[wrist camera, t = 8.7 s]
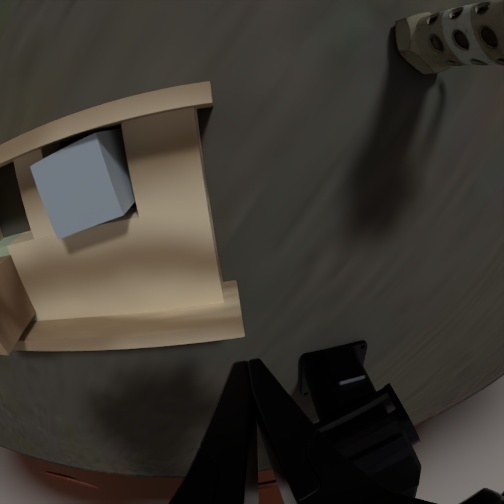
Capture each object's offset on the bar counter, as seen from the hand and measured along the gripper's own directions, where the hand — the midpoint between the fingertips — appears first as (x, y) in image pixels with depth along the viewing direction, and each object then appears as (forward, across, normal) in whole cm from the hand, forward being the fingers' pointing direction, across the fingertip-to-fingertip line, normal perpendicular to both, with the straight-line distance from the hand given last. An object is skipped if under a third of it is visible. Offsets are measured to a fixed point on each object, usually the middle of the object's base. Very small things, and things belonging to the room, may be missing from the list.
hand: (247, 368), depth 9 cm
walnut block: (+10, +18, +1) cm, 21 cm away
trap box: (+12, +11, -2) cm, 16 cm away
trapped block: (+12, +8, -5) cm, 15 cm away
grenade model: (+12, -16, -12) cm, 23 cm away
